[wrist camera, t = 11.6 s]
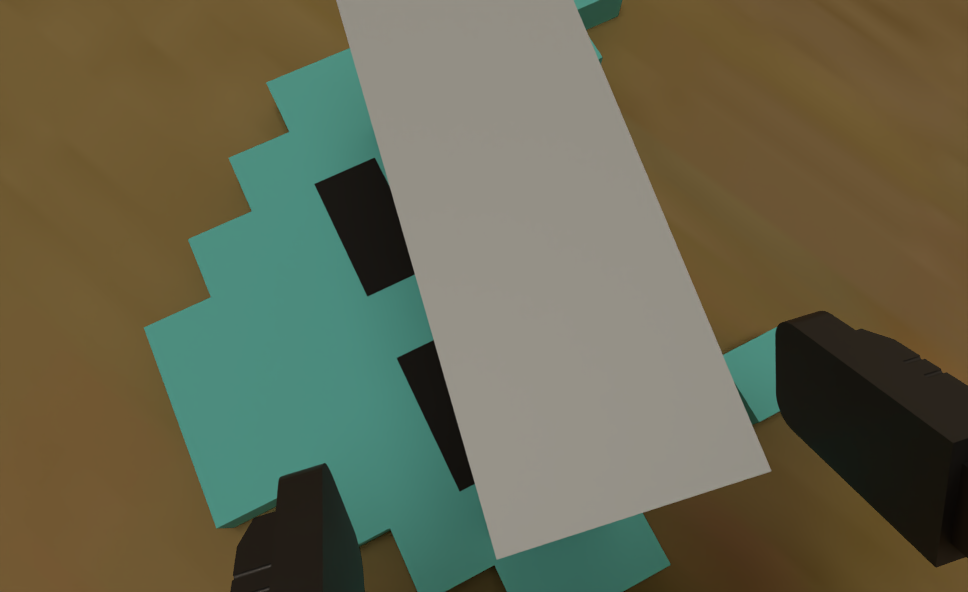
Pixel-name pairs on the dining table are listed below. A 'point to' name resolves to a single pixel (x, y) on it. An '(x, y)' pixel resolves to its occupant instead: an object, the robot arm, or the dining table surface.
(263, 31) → the dining table surface
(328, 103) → the alien figure
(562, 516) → the gray eraser-like brick
